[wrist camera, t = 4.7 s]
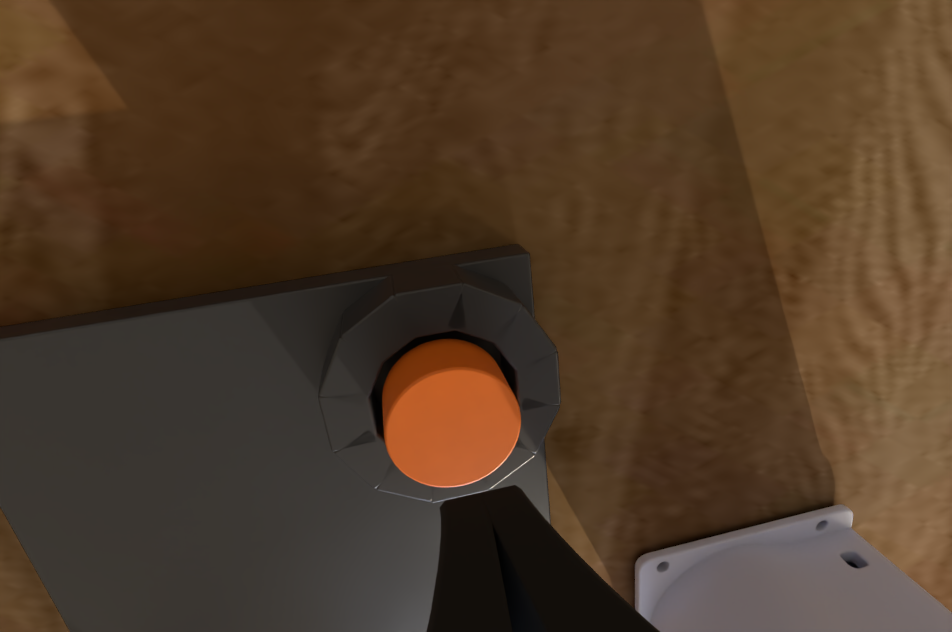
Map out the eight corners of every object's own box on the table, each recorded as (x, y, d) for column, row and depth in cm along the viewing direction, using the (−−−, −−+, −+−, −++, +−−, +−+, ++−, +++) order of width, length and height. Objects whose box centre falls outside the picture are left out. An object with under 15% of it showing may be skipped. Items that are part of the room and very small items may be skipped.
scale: (520, 241, 15) (553, 267, 13) (549, 592, 20) (578, 664, 18) (-52, 332, 13) (-162, 387, 11) (140, 697, 18) (100, 799, 16)
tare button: (498, 327, 13) (515, 355, 12) (509, 433, 14) (526, 472, 13) (371, 350, 13) (372, 383, 11) (393, 458, 14) (396, 501, 12)
